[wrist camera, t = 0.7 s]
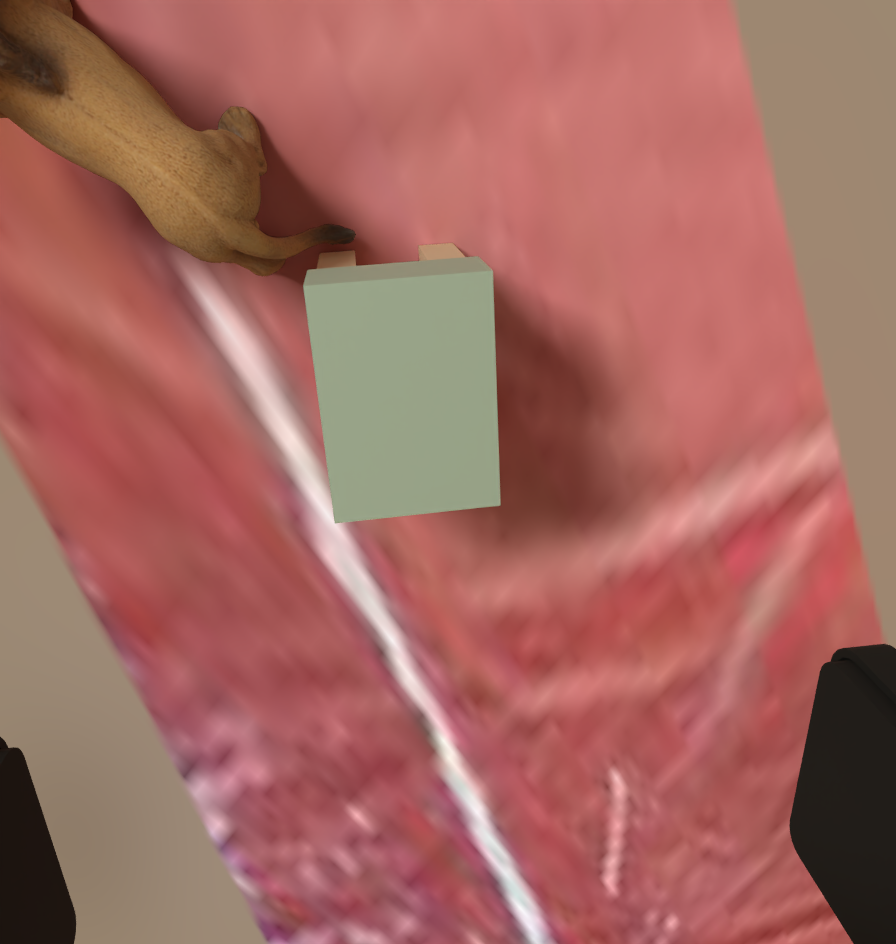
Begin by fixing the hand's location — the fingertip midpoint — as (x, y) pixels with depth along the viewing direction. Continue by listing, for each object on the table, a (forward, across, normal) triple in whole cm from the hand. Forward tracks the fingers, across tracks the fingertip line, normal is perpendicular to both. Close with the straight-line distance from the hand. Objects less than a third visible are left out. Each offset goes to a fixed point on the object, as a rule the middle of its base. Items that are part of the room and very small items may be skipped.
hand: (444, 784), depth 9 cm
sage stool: (+21, -1, 0) cm, 21 cm away
